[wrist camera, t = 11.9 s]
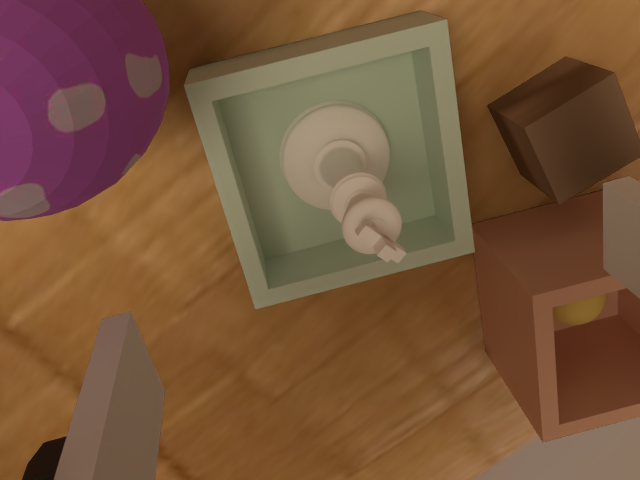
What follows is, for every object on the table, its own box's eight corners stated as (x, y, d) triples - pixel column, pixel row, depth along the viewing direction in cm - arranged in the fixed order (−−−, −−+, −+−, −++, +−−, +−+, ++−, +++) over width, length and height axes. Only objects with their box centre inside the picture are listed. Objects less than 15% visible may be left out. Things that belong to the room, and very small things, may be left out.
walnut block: (519, 173, 30) (559, 204, 26) (486, 105, 28) (524, 128, 24) (593, 129, 29) (644, 154, 26) (564, 56, 28) (614, 72, 24)
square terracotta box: (485, 351, 34) (543, 442, 28) (470, 224, 30) (532, 296, 24) (623, 315, 34) (711, 397, 28) (624, 184, 31) (725, 245, 24)
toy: (152, 144, 27) (72, 342, 13) (-9, 77, 25) (-293, 231, 11) (211, -4, 24) (188, 55, 11) (41, -90, 23) (-240, -146, 9)
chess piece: (342, 225, 29) (395, 348, 20) (257, 168, 27) (271, 274, 18) (410, 142, 28) (498, 234, 19) (324, 76, 26) (377, 141, 17)
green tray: (252, 271, 30) (255, 309, 27) (189, 68, 26) (183, 85, 22) (449, 220, 30) (475, 252, 27) (420, 10, 26) (447, 19, 23)
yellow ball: (532, 310, 32) (559, 343, 30) (528, 262, 31) (557, 292, 28) (587, 296, 32) (619, 328, 30) (585, 247, 31) (619, 275, 28)
